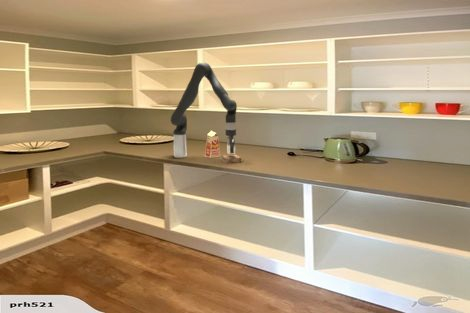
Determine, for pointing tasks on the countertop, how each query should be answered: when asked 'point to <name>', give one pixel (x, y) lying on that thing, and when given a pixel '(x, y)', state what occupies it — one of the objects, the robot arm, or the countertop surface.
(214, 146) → the milk carton
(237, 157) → the base
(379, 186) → the countertop surface
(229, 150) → the cube
